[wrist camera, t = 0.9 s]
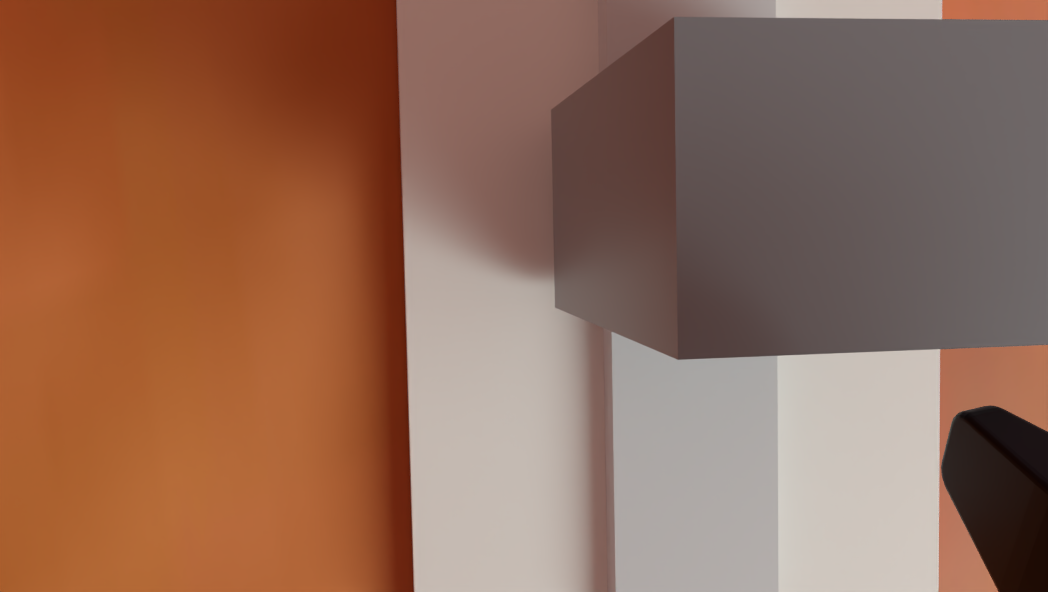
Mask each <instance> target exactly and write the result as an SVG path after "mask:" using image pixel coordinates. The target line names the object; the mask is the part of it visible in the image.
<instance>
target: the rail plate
mask: <svg viewBox="0 0 1048 592" xmlns="http://www.w3.org/2000/svg"><path fill="white" fill-rule="evenodd" d="M396 12H397V45H398V79H399V113H400V147H401V181H402V215H403V249H404V283H405V317H406V351H407V384H408V418H409V452H410V486H411V520H412V554H413V588H414V592H938V586H939V425H940V349H932V350H907V351H883V352H858V353H834V354H809V355H784V356H760V357H735V358H711V359H686V360H677V359H675V358H672V357H670V356H668V355H665V354H663V353H661V352H658V351H656V350H654V349H651V348H649V347H647V346H644V345H642V344H640V343H637V342H635V341H633V340H630V339H628V338H625V337H623V336H621V335H618V334H616V333H614V332H611V331H609V330H607V329H604V328H602V327H600V326H597V325H595V324H593V323H590V322H588V321H586V320H583V319H581V318H579V317H576V316H574V315H571V314H569V313H567V312H564V311H562V310H560V309H557V308H555V286H554V235H553V184H552V133H551V109H553V108H554V107H555V106H557V105H558V104H559V103H561V102H562V101H563V100H565V99H566V98H567V97H568V96H570V95H571V94H572V93H574V92H575V91H576V90H578V89H579V88H580V87H582V86H583V85H584V84H586V83H587V82H588V81H590V80H591V79H592V78H594V77H595V76H596V75H598V74H599V73H600V72H602V71H603V70H604V69H606V68H607V67H608V66H610V65H611V64H612V63H614V62H615V61H616V60H617V59H619V58H620V57H621V56H623V55H624V54H625V53H627V52H628V51H629V50H631V49H632V48H633V47H635V46H636V45H637V44H639V43H640V42H641V41H643V40H644V39H645V38H647V37H648V36H649V35H651V34H652V33H653V32H655V31H656V30H657V29H659V28H660V27H661V26H663V25H664V24H665V23H666V22H668V21H669V20H670V19H672V18H673V17H748V18H854V19H942V0H396Z"/></svg>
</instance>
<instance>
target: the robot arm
mask: <svg viewBox="0 0 1048 592" xmlns="http://www.w3.org/2000/svg"><path fill="white" fill-rule="evenodd" d="M941 469H942V478H943V481H944V484H945V487H946V489H947V491H948V493H949V495H950V497H951V499H952V501H953V503H954V505H955V507H956V509H957V511H958V513H959V515H960V517H961V519H962V521H963V523H964V524H965V526H966V528H967V530H968V532H969V534H970V536H971V538H972V540H973V542H974V544H975V546H976V548H977V550H978V552H979V554H980V556H981V558H982V560H983V562H984V564H985V566H986V568H987V570H988V572H989V574H990V576H991V578H992V580H993V582H994V583H995V585H996V587H997V589H998V591H999V592H1048V432H1047V431H1045V430H1043V429H1041V428H1039V427H1037V426H1035V425H1034V424H1032V423H1030V422H1028V421H1026V420H1024V419H1022V418H1020V417H1018V416H1016V415H1014V414H1012V413H1010V412H1008V411H1006V410H1004V409H1002V408H999V407H996V406H984V407H979V408H975V409H971V410H967V411H962V412H960V413H958V414H957V415H956V416H955V417H954V418H953V421H952V424H951V428H950V432H949V436H948V440H947V444H946V448H945V452H944V456H943V460H942V465H941Z"/></svg>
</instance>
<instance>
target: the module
mask: <svg viewBox="0 0 1048 592" xmlns="http://www.w3.org/2000/svg"><path fill="white" fill-rule="evenodd" d="M551 133H552V184H553V235H554V286H555V308H557V309H560V310H562V311H564V312H567V313H569V314H571V315H574V316H576V317H579V318H581V319H583V320H586V321H588V322H590V323H593V324H595V325H597V326H600V327H602V328H604V329H607V330H609V331H611V332H614V333H616V334H618V335H621V336H623V337H625V338H628V339H630V340H633V341H635V342H637V343H640V344H642V345H644V346H647V347H649V348H651V349H654V350H656V351H658V352H661V353H663V354H665V355H668V356H670V357H672V358H675V359H677V360H686V359H711V358H735V357H760V356H784V355H809V354H834V353H858V352H883V351H907V350H932V349H956V348H981V347H1005V346H1030V345H1048V20H959V19H854V18H748V17H673V18H672V19H670V20H669V21H668V22H666V23H665V24H664V25H663V26H661V27H660V28H659V29H657V30H656V31H655V32H653V33H652V34H651V35H649V36H648V37H647V38H645V39H644V40H643V41H641V42H640V43H639V44H637V45H636V46H635V47H633V48H632V49H631V50H629V51H628V52H627V53H625V54H624V55H623V56H621V57H620V58H619V59H617V60H616V61H615V62H614V63H612V64H611V65H610V66H608V67H607V68H606V69H604V70H603V71H602V72H600V73H599V74H598V75H596V76H595V77H594V78H592V79H591V80H590V81H588V82H587V83H586V84H584V85H583V86H582V87H580V88H579V89H578V90H576V91H575V92H574V93H572V94H571V95H570V96H568V97H567V98H566V99H565V100H563V101H562V102H561V103H559V104H558V105H557V106H555V107H554V108H553V109H551Z"/></svg>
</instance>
